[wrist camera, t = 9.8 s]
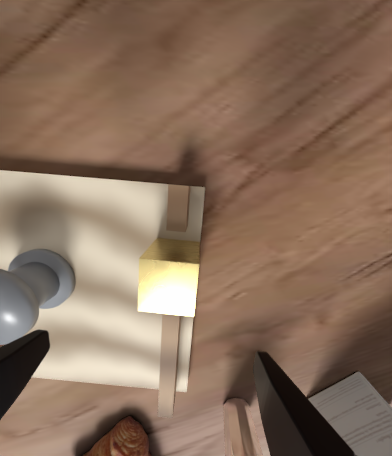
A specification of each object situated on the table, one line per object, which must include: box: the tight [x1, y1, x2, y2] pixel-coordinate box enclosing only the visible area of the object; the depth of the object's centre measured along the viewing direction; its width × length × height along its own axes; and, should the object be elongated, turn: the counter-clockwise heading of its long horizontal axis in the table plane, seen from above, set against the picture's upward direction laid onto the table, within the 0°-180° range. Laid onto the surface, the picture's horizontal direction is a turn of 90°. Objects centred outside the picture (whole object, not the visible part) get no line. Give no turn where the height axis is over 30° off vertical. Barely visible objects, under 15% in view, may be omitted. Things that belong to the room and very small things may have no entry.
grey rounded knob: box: [0, 249, 76, 345], centre depth 16 cm, size 6×6×5 cm
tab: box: [138, 238, 200, 317], centre depth 15 cm, size 4×4×5 cm
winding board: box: [0, 170, 205, 418], centre depth 18 cm, size 23×20×4 cm
